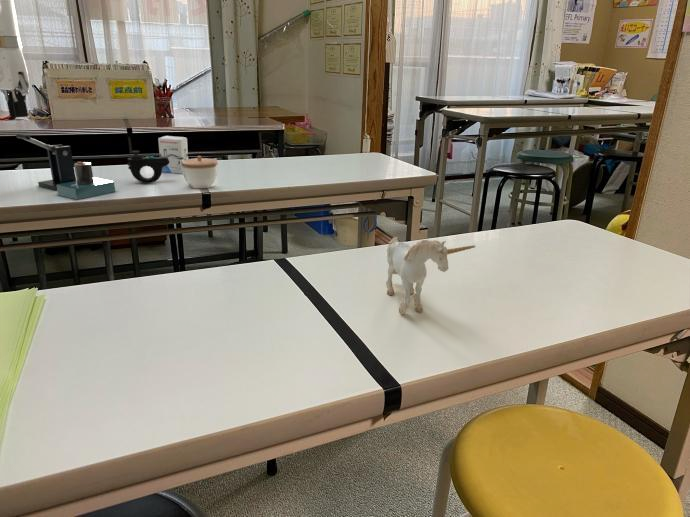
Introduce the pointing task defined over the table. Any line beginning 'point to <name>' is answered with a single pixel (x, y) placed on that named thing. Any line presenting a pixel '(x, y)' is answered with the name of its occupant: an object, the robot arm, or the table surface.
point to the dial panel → (85, 189)
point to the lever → (36, 142)
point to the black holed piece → (139, 162)
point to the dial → (84, 173)
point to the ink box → (173, 152)
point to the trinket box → (200, 171)
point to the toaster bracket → (60, 167)
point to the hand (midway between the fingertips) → (19, 116)
